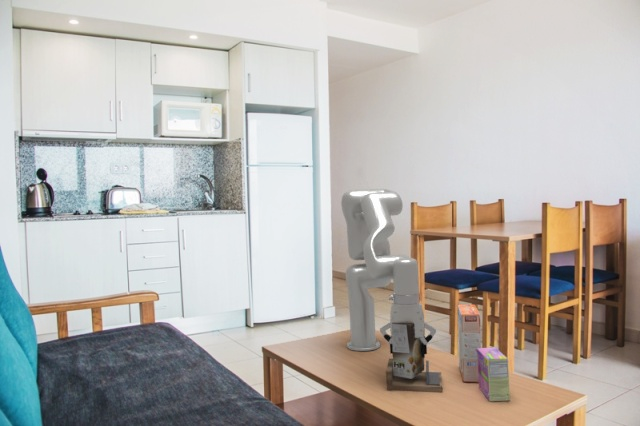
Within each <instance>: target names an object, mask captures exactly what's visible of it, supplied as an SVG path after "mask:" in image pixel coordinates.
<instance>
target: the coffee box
mask: <svg viewBox="0 0 640 426" xmlns="http://www.w3.org/2000/svg"><path fill="white" fill-rule="evenodd" d="M392 347H393V355H392V359H393V375H394V376H399V377H404V378H409V379H412V378H414V377H415V376H416V375H418V374H419V373H421V372H425V358H423V357H422V341H421V340H420V338H415V325H414V323H392Z"/></svg>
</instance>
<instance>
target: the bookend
mask: <svg viewBox="0 0 640 426" xmlns="http://www.w3.org/2000/svg"><path fill="white" fill-rule="evenodd" d="M429 364H430V362H429V360H425V372H426V385H433V386H440V380H439V372H440V371H439V372H437V371H430V365H429Z"/></svg>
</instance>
